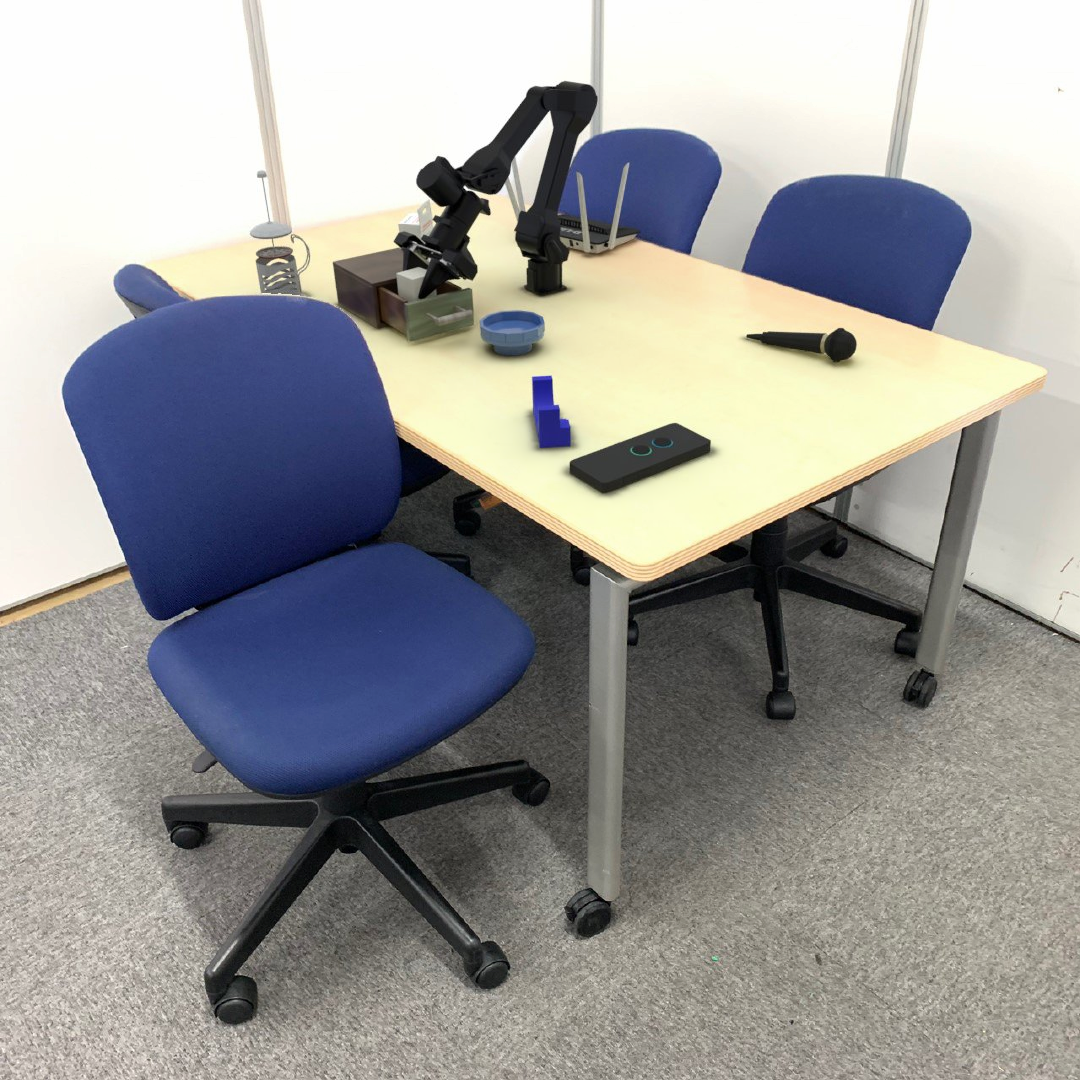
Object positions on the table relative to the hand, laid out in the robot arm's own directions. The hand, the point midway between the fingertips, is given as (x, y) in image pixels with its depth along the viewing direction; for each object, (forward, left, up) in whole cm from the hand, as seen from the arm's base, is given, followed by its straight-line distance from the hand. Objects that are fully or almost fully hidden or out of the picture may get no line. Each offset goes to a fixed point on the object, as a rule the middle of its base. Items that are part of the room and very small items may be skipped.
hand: (411, 295), depth 186 cm
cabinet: (-2, -14, -7) cm, 15 cm away
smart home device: (0, +64, -7) cm, 65 cm away
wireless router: (-56, -26, -7) cm, 62 cm away
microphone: (-48, +50, -7) cm, 70 cm away
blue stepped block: (+4, +48, -7) cm, 49 cm away
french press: (+12, -32, -7) cm, 34 cm away
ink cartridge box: (-17, -28, -7) cm, 34 cm away
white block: (-1, 0, -3) cm, 4 cm away
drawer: (-2, +1, -6) cm, 6 cm away
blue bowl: (-10, +18, -7) cm, 22 cm away
